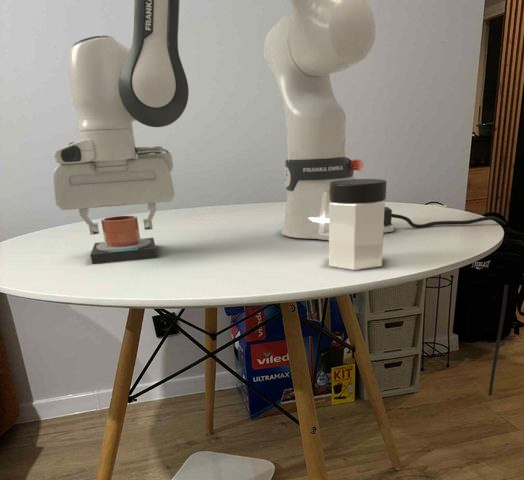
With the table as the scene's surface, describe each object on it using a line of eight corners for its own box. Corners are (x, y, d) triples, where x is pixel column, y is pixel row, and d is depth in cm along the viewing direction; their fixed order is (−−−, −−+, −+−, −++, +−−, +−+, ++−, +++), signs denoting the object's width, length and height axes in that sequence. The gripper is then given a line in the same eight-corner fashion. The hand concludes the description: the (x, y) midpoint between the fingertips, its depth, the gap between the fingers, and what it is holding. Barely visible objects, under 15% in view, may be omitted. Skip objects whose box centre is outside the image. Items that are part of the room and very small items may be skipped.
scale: (154, 245, 98) (153, 235, 97) (156, 257, 88) (155, 246, 87) (96, 251, 96) (94, 240, 95) (92, 263, 86) (89, 252, 85)
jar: (368, 254, 82) (371, 177, 77) (395, 265, 75) (400, 181, 70) (318, 261, 80) (318, 181, 75) (340, 272, 72) (341, 185, 68)
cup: (140, 239, 94) (136, 214, 92) (140, 245, 89) (137, 219, 87) (106, 242, 93) (102, 217, 91) (104, 248, 87) (100, 222, 86)
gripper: (169, 145, 90) (178, 223, 95) (49, 152, 86) (65, 233, 91) (171, 145, 84) (181, 229, 89) (43, 153, 80) (61, 239, 85)
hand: (122, 231), depth 90 cm, fingers open, 8 cm apart
